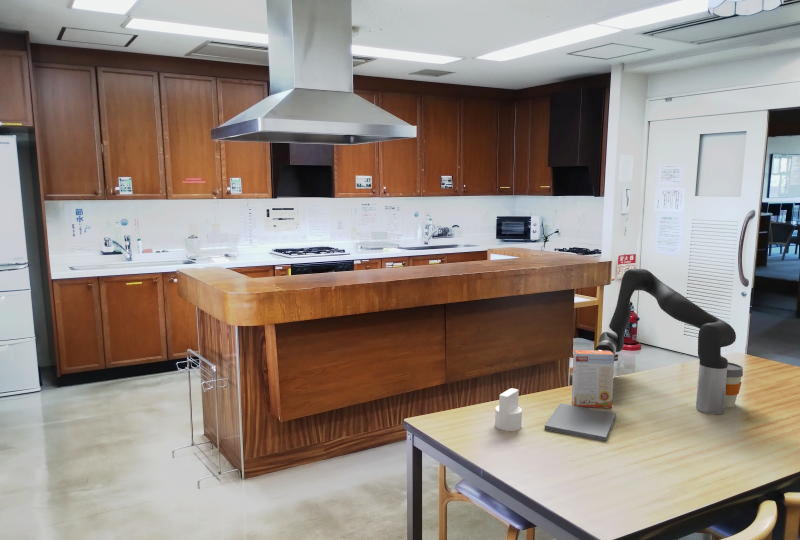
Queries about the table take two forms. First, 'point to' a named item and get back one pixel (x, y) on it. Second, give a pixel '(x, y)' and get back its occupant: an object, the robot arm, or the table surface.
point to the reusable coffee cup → (733, 383)
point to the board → (581, 422)
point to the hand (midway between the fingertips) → (598, 360)
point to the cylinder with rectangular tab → (508, 411)
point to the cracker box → (592, 378)
